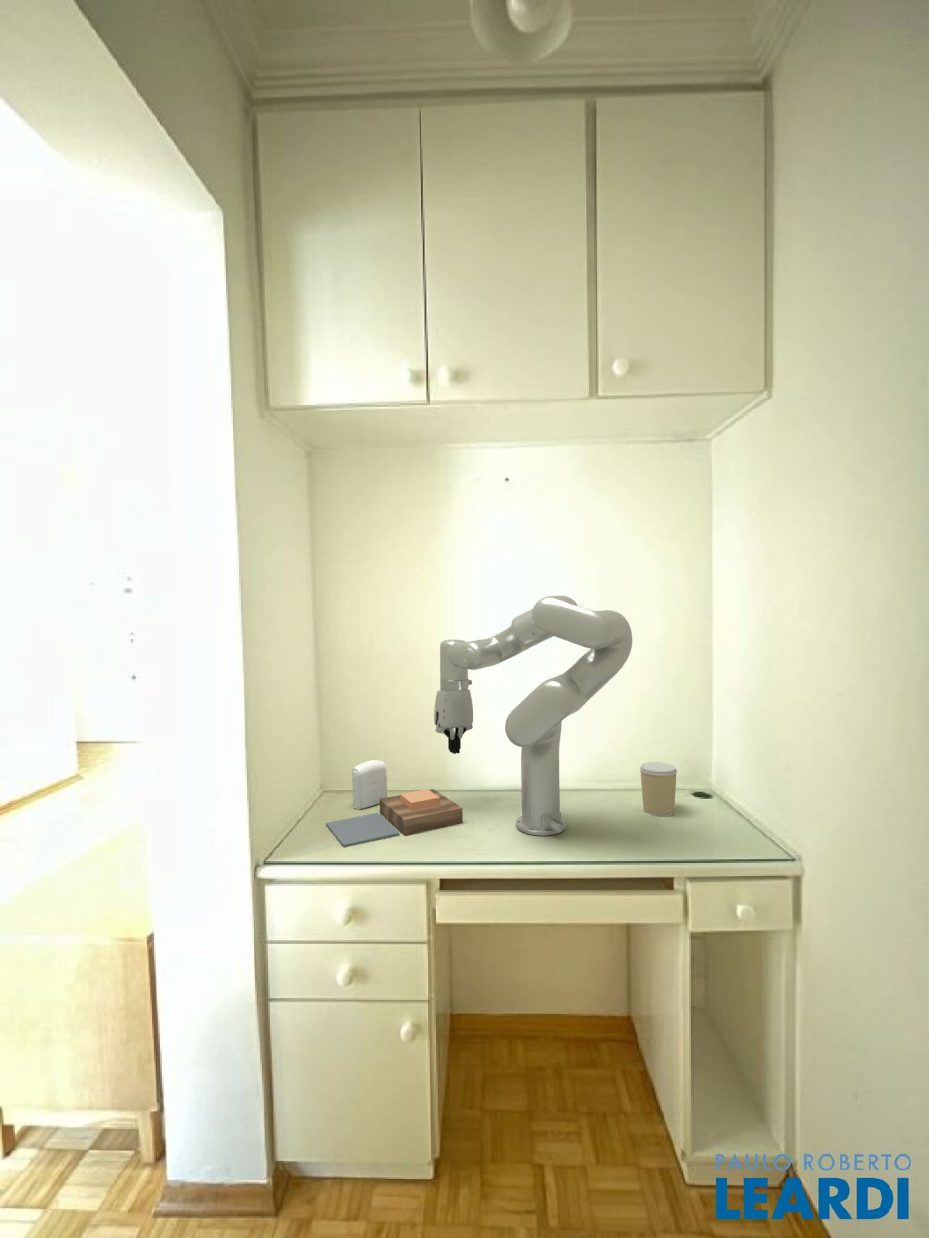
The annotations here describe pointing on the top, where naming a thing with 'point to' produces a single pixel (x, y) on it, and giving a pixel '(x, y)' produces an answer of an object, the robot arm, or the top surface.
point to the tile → (419, 799)
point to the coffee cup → (658, 788)
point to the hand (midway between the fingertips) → (454, 752)
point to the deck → (421, 815)
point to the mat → (361, 829)
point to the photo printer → (369, 783)
